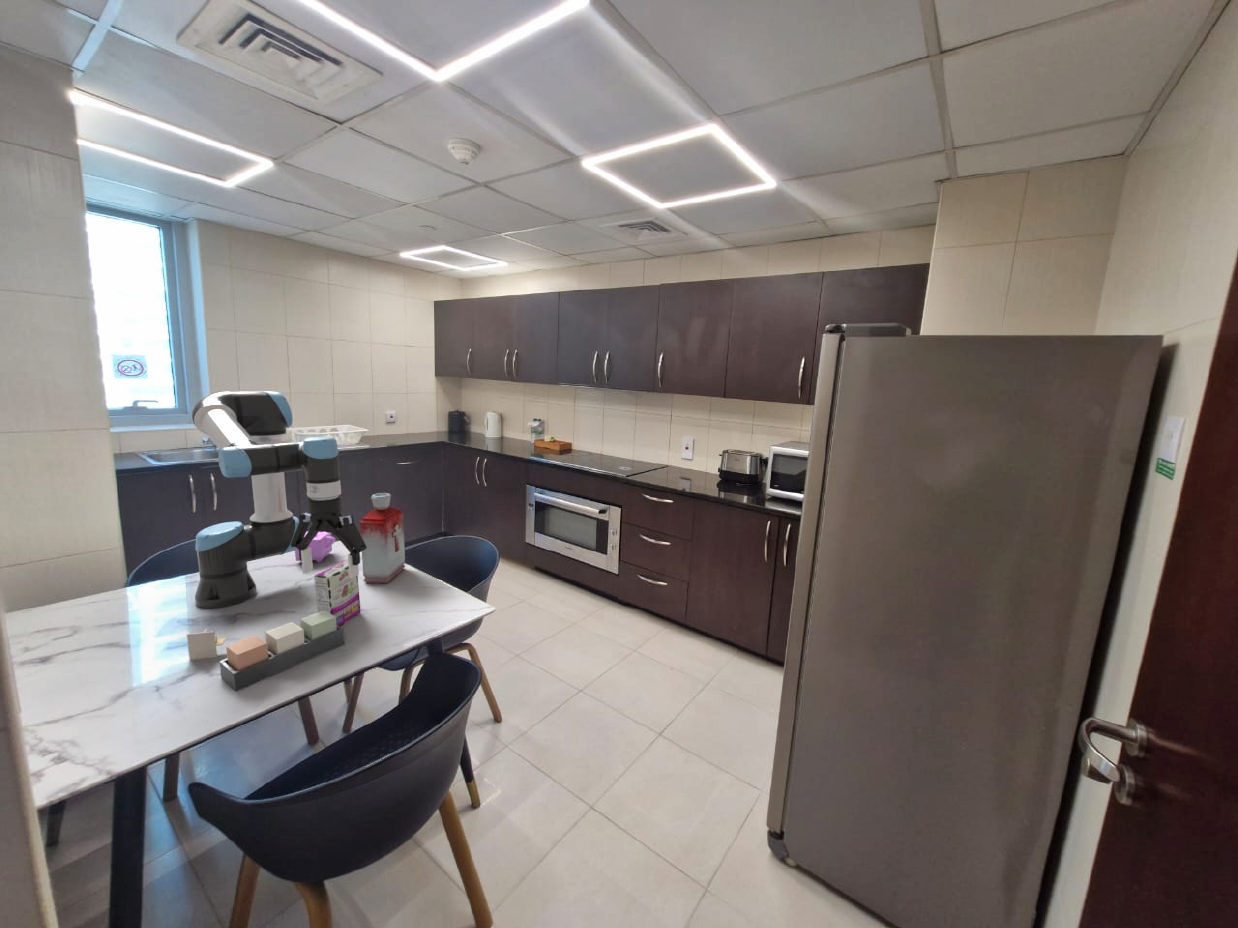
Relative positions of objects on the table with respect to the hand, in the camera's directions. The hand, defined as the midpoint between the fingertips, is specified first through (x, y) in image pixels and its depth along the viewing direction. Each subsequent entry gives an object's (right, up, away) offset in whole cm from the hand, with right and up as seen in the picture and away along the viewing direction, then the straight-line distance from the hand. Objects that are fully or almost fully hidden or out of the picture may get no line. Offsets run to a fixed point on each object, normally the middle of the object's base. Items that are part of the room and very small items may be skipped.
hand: (330, 574), depth 130 cm
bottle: (-7, -11, +45) cm, 46 cm away
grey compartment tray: (-7, -20, -7) cm, 23 cm away
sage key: (-3, -16, -1) cm, 16 cm away
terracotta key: (-11, -18, -14) cm, 26 cm away
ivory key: (-7, -17, -7) cm, 20 cm away
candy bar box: (-5, -17, +13) cm, 22 cm away
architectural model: (-28, -20, -6) cm, 35 cm away
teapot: (-40, -7, +57) cm, 70 cm away
